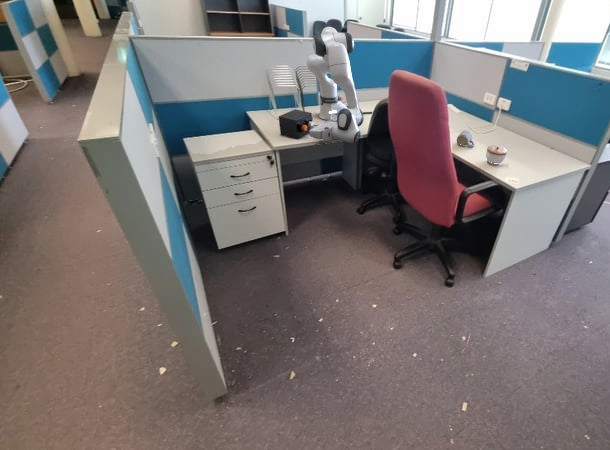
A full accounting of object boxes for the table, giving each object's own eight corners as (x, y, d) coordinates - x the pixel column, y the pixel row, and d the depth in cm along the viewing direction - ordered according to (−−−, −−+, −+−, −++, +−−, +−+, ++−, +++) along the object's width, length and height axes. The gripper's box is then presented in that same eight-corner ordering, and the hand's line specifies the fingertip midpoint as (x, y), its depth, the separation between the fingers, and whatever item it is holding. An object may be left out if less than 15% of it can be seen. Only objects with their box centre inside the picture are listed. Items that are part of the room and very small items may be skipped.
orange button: (304, 129, 194) (304, 123, 192) (307, 129, 194) (307, 124, 192) (301, 130, 192) (301, 125, 190) (304, 131, 191) (304, 126, 189)
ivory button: (311, 125, 199) (311, 120, 197) (314, 126, 199) (313, 121, 197) (308, 127, 197) (308, 122, 195) (311, 127, 196) (310, 122, 194)
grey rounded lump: (454, 145, 201) (457, 132, 196) (459, 140, 207) (461, 129, 202) (471, 149, 197) (474, 137, 193) (475, 145, 203) (478, 133, 199)
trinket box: (485, 156, 190) (489, 141, 184) (504, 161, 187) (509, 145, 181) (482, 164, 182) (486, 148, 176) (502, 168, 179) (507, 152, 173)
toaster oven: (298, 126, 210) (297, 108, 203) (316, 130, 206) (315, 112, 199) (280, 135, 196) (278, 116, 189) (299, 139, 192) (297, 120, 185)
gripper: (341, 120, 191) (321, 115, 195) (322, 131, 176) (301, 126, 180) (341, 130, 195) (321, 126, 199) (323, 142, 179) (302, 137, 183)
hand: (311, 126), depth 189 cm, fingers closed
